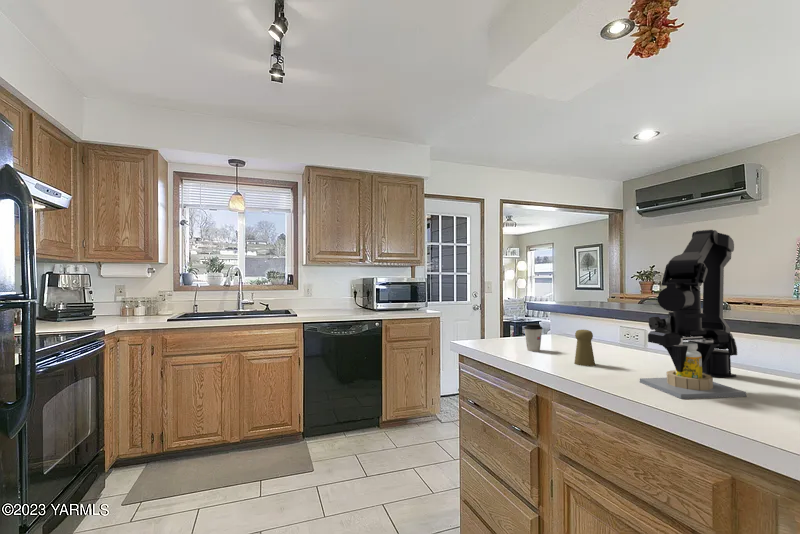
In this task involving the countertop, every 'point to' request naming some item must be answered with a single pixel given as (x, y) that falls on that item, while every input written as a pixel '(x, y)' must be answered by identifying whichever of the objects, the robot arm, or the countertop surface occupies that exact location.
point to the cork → (584, 348)
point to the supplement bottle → (691, 362)
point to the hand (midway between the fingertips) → (688, 371)
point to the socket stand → (691, 386)
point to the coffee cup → (533, 336)
